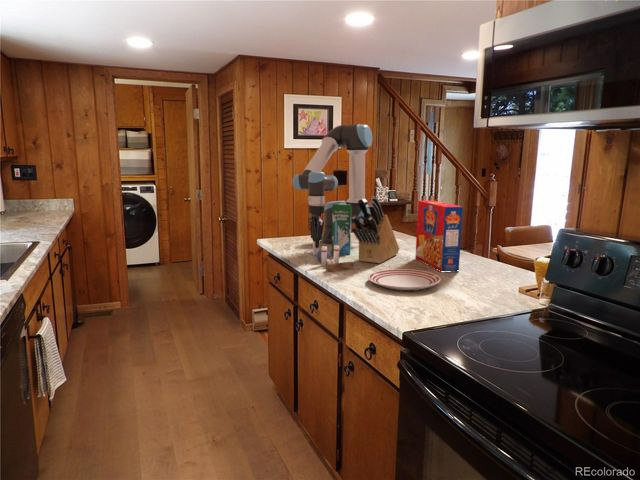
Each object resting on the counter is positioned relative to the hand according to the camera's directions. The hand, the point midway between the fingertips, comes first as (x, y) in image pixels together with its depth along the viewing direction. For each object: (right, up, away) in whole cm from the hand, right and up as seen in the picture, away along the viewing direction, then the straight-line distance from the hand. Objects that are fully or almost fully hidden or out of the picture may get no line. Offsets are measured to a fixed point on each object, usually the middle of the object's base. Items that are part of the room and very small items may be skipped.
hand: (316, 254), depth 224 cm
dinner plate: (+34, -11, -44) cm, 57 cm away
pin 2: (+9, -4, -13) cm, 16 cm away
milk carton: (+13, 0, +13) cm, 19 cm away
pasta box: (+54, -5, -11) cm, 56 cm away
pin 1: (+4, -5, -15) cm, 16 cm away
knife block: (+28, -3, -2) cm, 29 cm away
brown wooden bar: (+10, -6, -23) cm, 26 cm away
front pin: (+5, -3, -12) cm, 14 cm away
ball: (+3, 0, -8) cm, 9 cm away
